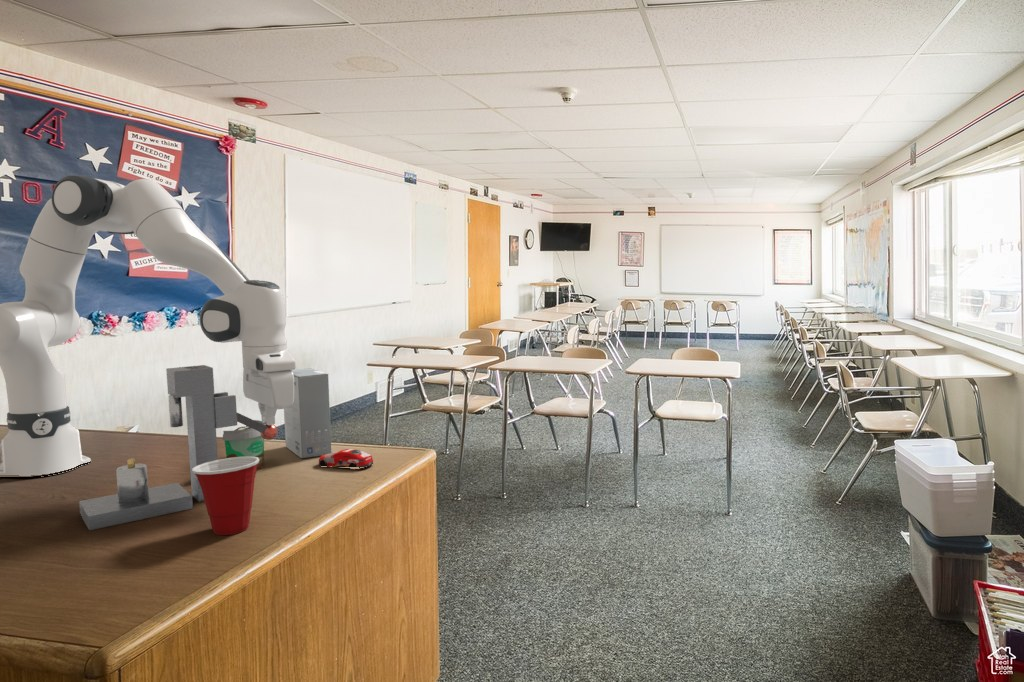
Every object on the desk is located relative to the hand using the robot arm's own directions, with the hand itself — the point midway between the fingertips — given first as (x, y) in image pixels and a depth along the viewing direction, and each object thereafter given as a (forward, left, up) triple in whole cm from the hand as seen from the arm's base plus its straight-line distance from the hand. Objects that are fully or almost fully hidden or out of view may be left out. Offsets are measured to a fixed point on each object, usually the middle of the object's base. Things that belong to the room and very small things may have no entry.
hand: (268, 424), depth 147 cm
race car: (-2, +18, -13) cm, 22 cm away
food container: (-14, +1, -13) cm, 19 cm away
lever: (0, -5, 0) cm, 5 cm away
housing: (0, -26, -10) cm, 28 cm away
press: (+1, -21, -13) cm, 24 cm away
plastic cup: (+22, -15, -13) cm, 30 cm away
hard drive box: (-21, +17, -13) cm, 30 cm away
